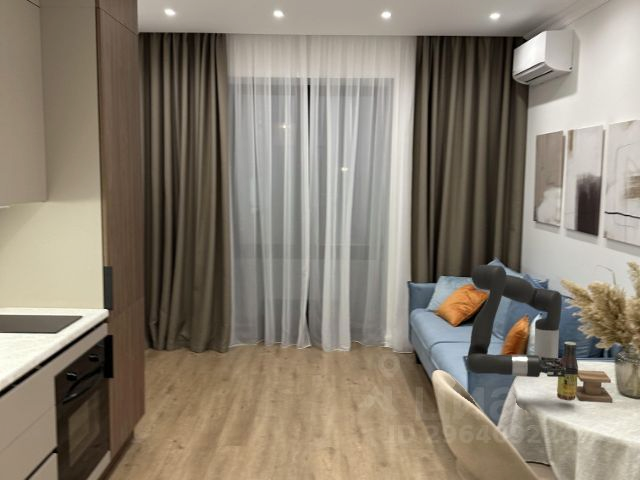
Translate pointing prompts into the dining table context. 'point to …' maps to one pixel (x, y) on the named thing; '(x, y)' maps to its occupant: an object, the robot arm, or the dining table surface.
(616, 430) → the dining table surface
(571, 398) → the sauce bottle
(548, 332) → the robot arm
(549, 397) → the dining table surface
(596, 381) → the walnut pedestal
